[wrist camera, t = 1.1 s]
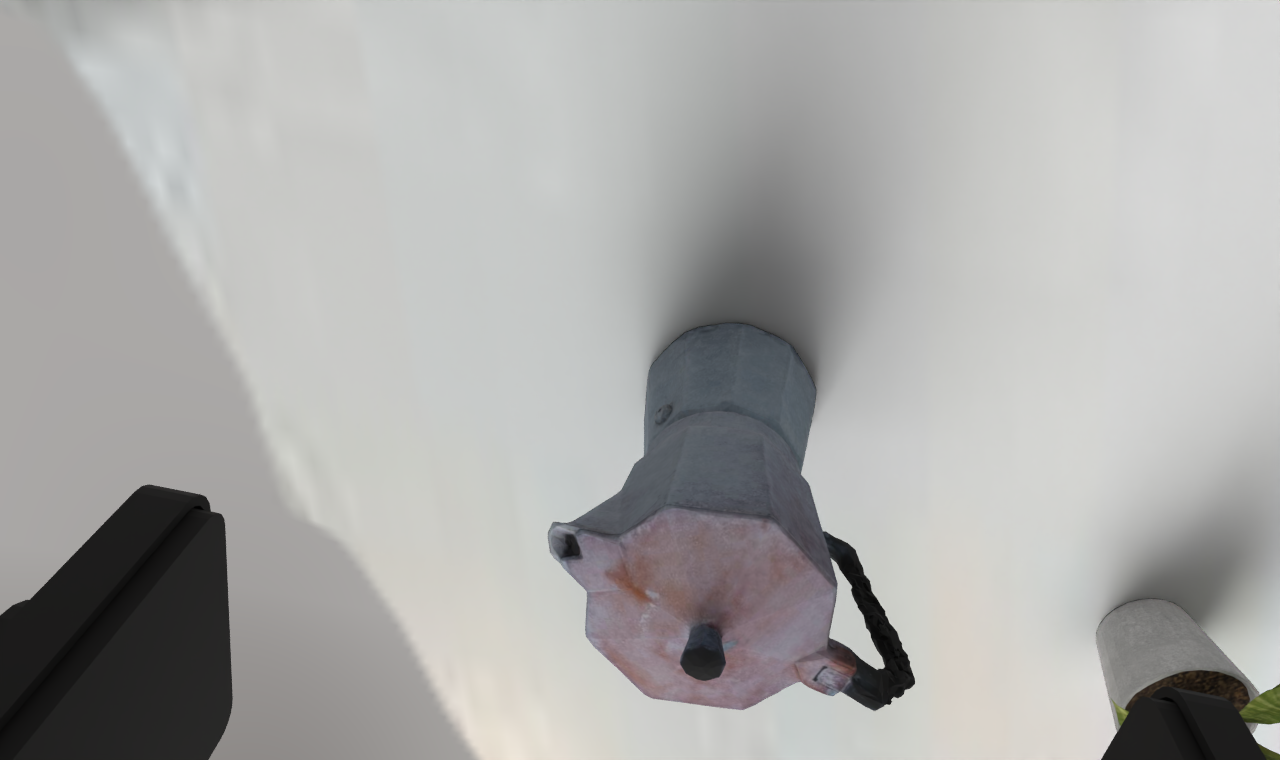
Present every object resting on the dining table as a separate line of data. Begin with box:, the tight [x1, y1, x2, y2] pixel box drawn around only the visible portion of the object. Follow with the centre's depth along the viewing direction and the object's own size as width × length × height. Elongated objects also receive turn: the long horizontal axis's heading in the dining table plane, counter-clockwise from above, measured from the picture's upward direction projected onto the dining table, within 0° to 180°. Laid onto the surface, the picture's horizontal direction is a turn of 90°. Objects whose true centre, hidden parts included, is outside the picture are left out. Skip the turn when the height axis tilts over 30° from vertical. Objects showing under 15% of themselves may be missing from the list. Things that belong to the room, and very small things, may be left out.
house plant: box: [1096, 599, 1280, 760], centre depth 48 cm, size 14×14×16 cm
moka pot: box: [548, 323, 915, 711], centre depth 42 cm, size 10×15×20 cm, turn 69°
